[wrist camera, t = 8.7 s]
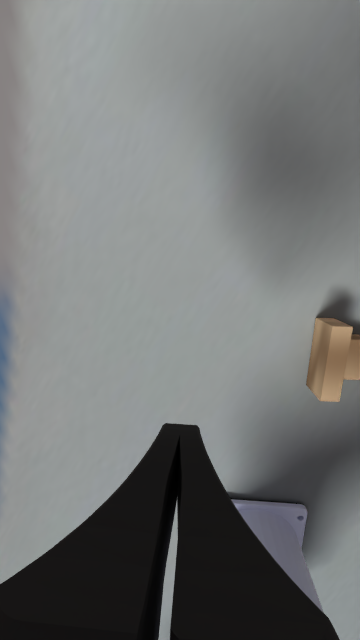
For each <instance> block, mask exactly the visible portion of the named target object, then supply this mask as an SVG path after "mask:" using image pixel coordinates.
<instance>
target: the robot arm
mask: <svg viewBox="0 0 360 640" xmlns="http://www.w3.org/2000/svg"><path fill="white" fill-rule="evenodd" d="M176 501H177V504H178V544H177V557H176V569H175V581H174V593H173V605H172V617H171V629H170V640H339V638H338V635H337V633H336V631H335V629H334V627H333V625H332V624H331V622H330V620H329V618H328V617H327V616H326V615H325V614H324V612H323V609H322V606H321V604H320V601H319V598H318V595H317V592H316V589H315V586H314V584H313V581H312V578H311V575H310V572H309V569H308V567H307V564H306V561H305V558H304V555H303V552H302V550H301V549H302V543H303V537H304V531H305V525H306V519H307V509H306V507H305V506H304V505H302V504H291V503H276V502H262V501H248V500H234V499H230V497H229V495H228V494H227V492H226V490H225V488H224V487H223V485H222V483H221V481H220V479H219V477H218V475H217V473H216V471H215V469H214V467H213V465H212V463H211V461H210V459H209V456H208V454H207V452H206V449H205V446H204V444H203V441H202V438H201V434H200V429H199V427H198V426H197V425H184V424H169V423H165V424H164V425H163V426H162V428H161V430H160V432H159V434H158V436H157V437H156V439H155V441H154V442H153V444H152V445H151V447H150V448H149V450H148V451H147V453H146V454H145V456H144V457H143V458H142V460H141V461H140V463H139V464H138V465H137V466H136V468H135V469H134V470H133V471H132V473H131V474H130V475H129V476H128V478H127V479H126V480H125V481H124V482H123V483H122V485H121V486H120V487H119V488H118V489H117V490H116V491H115V492H114V493H113V494H112V495H111V496H110V497H109V498H108V500H107V501H106V502H104V503H103V504H102V505H101V506H100V507H99V508H98V509H97V510H96V511H95V512H94V513H93V514H92V515H91V516H90V517H89V518H88V519H86V520H85V521H84V522H83V523H82V524H81V525H80V526H79V527H77V528H76V529H75V530H74V531H72V532H71V533H70V534H69V535H67V536H66V537H65V538H64V539H63V540H61V541H60V542H59V543H58V544H56V545H55V546H54V547H53V548H51V549H50V550H49V551H47V552H46V553H45V554H43V555H42V556H41V557H39V558H38V559H36V560H35V561H34V562H32V563H31V564H29V565H28V566H26V567H25V568H24V569H22V570H21V571H19V572H18V573H16V574H15V575H14V576H12V577H11V578H9V579H8V580H6V581H5V582H3V583H2V584H0V640H158V637H159V626H160V616H161V605H162V594H163V583H164V576H165V568H166V561H167V555H168V549H169V543H170V537H171V532H172V526H173V520H174V514H175V507H176Z"/></svg>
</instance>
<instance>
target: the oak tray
mask: <svg viewBox="0 0 360 640" xmlns="http://www.w3.org/2000/svg"><path fill="white" fill-rule="evenodd" d="M352 330H353V327H352V326H350V325H348V324H345V323H343V322H341V321H339V320H337V319H335V318H316V321H315V328H314V335H313V342H312V348H311V355H310V362H309V369H308V376H307V383H306V385H307V386H308V387H309V389H310V390H311V391H312V392H313V393H314V394H315V396H316V397H317V398H318V399H319V400H320V401H331V402H339V401H340V395H341V390H342V384H343V379H346V380H360V335H356V334H352Z"/></svg>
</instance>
